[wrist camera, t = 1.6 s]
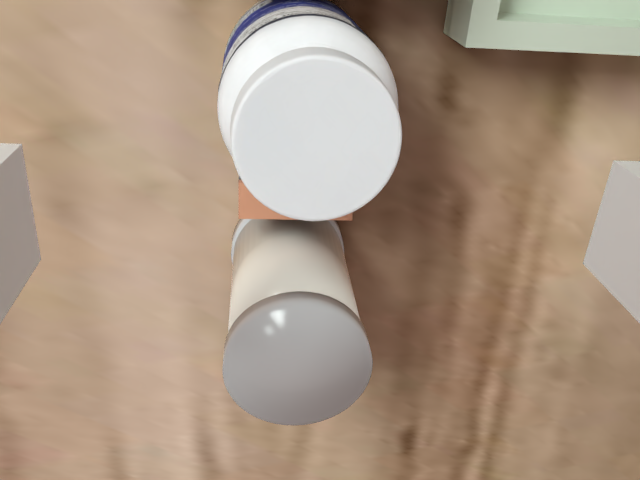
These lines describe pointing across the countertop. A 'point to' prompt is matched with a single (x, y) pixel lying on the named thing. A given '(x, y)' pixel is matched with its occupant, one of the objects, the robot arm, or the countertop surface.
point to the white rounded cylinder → (293, 323)
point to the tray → (546, 25)
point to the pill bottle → (308, 109)
